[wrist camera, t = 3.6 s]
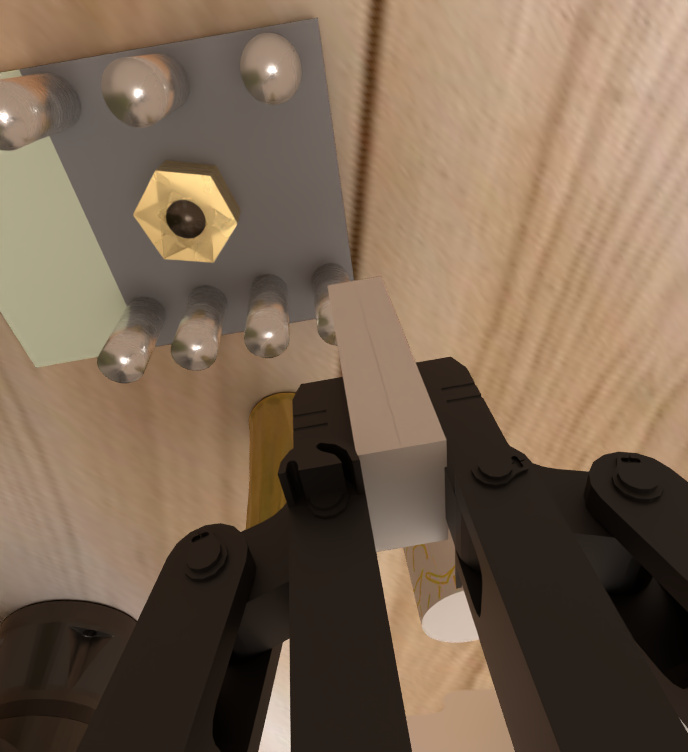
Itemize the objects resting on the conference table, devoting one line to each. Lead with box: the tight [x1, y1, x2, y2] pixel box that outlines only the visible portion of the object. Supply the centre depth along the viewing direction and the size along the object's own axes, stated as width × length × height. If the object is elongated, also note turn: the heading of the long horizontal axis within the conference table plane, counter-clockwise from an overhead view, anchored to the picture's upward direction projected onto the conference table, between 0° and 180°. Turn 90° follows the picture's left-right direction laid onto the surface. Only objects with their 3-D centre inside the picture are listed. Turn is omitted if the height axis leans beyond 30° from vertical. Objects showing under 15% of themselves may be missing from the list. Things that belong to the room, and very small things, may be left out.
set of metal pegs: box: [0, 33, 350, 383], centre depth 25 cm, size 14×14×6 cm
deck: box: [0, 18, 354, 368], centre depth 28 cm, size 22×16×2 cm
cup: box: [403, 527, 479, 643], centre depth 42 cm, size 8×8×12 cm
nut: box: [133, 160, 241, 263], centre depth 26 cm, size 5×5×3 cm
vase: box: [246, 393, 295, 530], centre depth 34 cm, size 6×6×14 cm
